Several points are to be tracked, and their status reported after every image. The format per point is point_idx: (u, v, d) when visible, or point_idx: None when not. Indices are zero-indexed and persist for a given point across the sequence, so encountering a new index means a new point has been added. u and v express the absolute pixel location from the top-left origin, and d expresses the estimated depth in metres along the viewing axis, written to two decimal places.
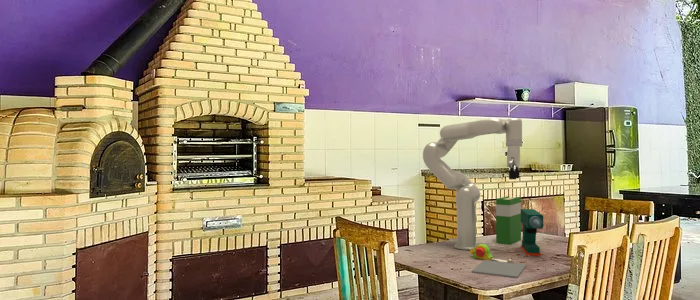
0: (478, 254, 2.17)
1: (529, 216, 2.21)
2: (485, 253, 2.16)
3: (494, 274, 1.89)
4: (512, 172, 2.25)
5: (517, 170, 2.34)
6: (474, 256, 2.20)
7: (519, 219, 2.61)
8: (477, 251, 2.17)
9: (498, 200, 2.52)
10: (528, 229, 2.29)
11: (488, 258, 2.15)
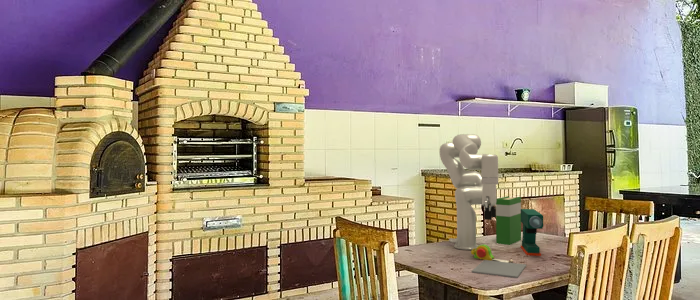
0: (479, 254, 2.16)
1: (529, 216, 2.21)
2: (486, 253, 2.16)
3: (494, 274, 1.89)
4: (487, 212, 2.12)
5: (493, 208, 2.21)
6: (475, 256, 2.19)
7: (519, 219, 2.61)
8: (478, 251, 2.16)
9: (498, 200, 2.52)
10: (528, 229, 2.29)
11: (489, 258, 2.15)
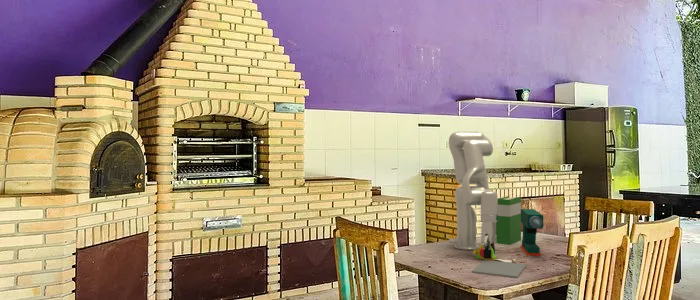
0: (482, 254, 2.15)
1: (529, 216, 2.21)
2: None
3: (494, 274, 1.89)
4: (487, 251, 2.13)
5: (492, 247, 2.19)
6: (478, 256, 2.19)
7: (519, 219, 2.61)
8: (481, 251, 2.16)
9: (498, 200, 2.52)
10: (528, 229, 2.29)
11: (492, 258, 2.14)
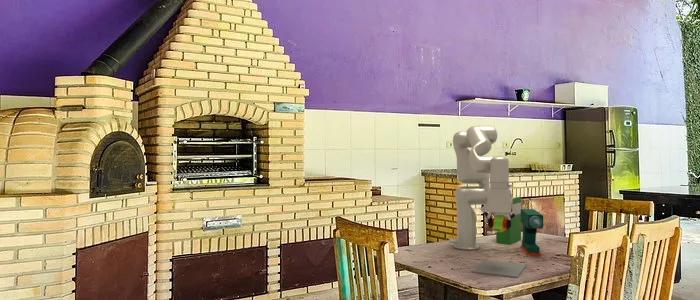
0: None
1: (529, 216, 2.21)
2: None
3: (494, 274, 1.89)
4: None
5: (507, 220, 1.97)
6: None
7: (519, 219, 2.61)
8: None
9: None
10: (528, 229, 2.29)
11: None
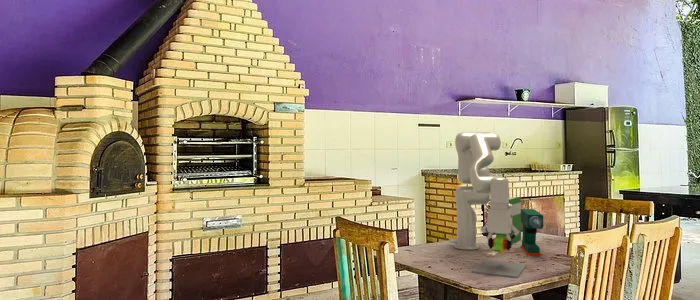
0: None
1: (529, 216, 2.21)
2: None
3: (494, 274, 1.89)
4: None
5: None
6: None
7: (519, 219, 2.61)
8: None
9: None
10: (528, 229, 2.29)
11: None
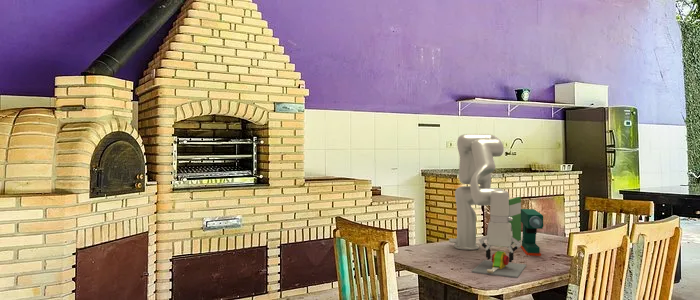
0: None
1: (529, 216, 2.21)
2: None
3: (494, 274, 1.89)
4: None
5: None
6: None
7: (519, 219, 2.61)
8: None
9: None
10: (528, 229, 2.29)
11: None
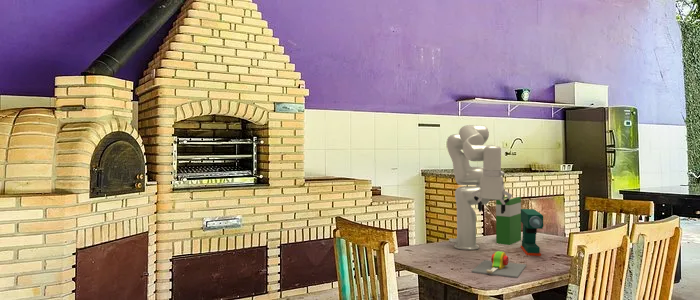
0: None
1: (529, 216, 2.21)
2: None
3: (494, 274, 1.89)
4: None
5: None
6: None
7: (519, 219, 2.61)
8: None
9: (498, 200, 2.52)
10: (528, 229, 2.29)
11: None
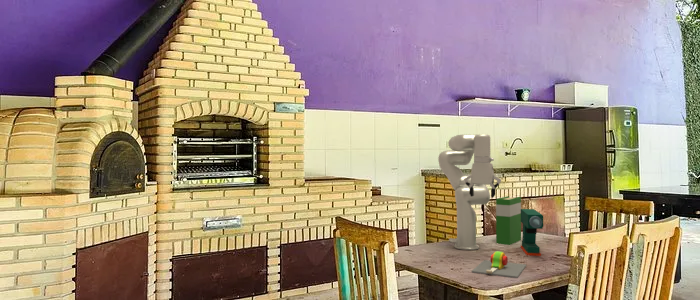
0: None
1: (529, 216, 2.21)
2: None
3: (494, 274, 1.89)
4: None
5: (491, 189, 2.19)
6: None
7: (519, 219, 2.61)
8: None
9: (498, 200, 2.52)
10: (528, 229, 2.29)
11: None
